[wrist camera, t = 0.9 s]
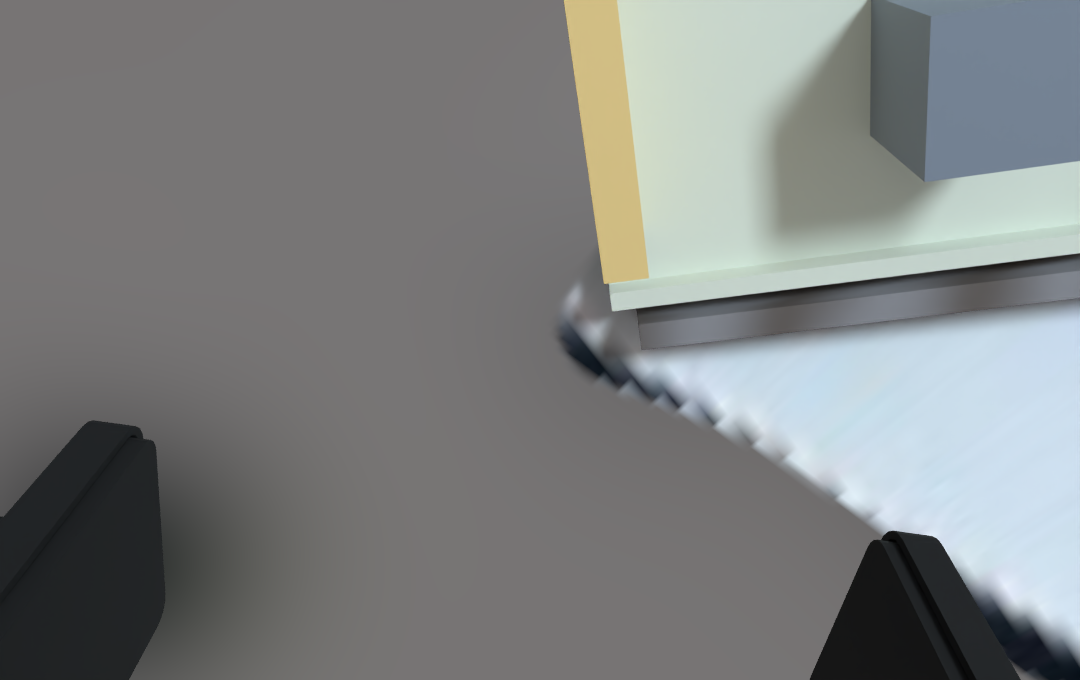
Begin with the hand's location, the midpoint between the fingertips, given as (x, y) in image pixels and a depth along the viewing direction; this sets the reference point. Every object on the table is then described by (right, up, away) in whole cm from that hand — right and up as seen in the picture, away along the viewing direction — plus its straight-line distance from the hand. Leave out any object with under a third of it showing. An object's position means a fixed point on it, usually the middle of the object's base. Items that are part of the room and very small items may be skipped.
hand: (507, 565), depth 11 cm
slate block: (+15, +13, +20) cm, 28 cm away
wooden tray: (+12, +13, +21) cm, 27 cm away
